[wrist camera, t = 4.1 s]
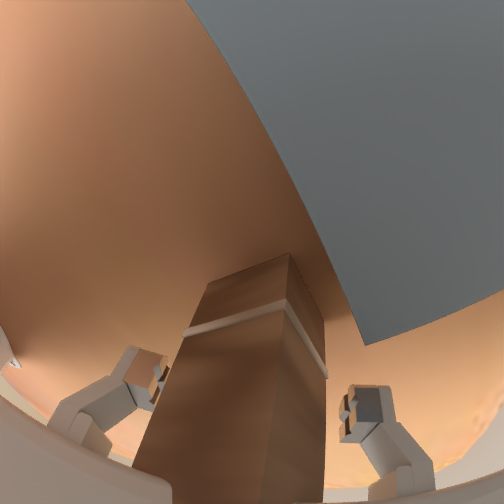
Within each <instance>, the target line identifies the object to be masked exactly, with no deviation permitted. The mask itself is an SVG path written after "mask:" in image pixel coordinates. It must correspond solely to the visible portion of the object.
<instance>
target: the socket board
mask: <svg viewBox="0 0 504 504" xmlns="http://www.w3.org/2000/svg"><path fill="white" fill-rule="evenodd" d="M186 2H187V3H188V5H189V6H190V8H191V9H192V10H193V12H194V13H195V15H196V16H197V18H198V19H199V21H200V22H201V24H202V25H203V27H204V28H205V30H206V31H207V33H208V34H209V36H210V38H211V39H212V41H213V42H214V44H215V45H216V47H217V48H218V50H219V52H220V53H221V55H222V56H223V58H224V60H225V61H226V63H227V64H228V66H229V68H230V69H231V71H232V73H233V74H234V76H235V78H236V79H237V81H238V83H239V84H240V86H241V88H242V89H243V91H244V93H245V95H246V96H247V98H248V100H249V102H250V103H251V105H252V107H253V109H254V110H255V112H256V114H257V116H258V117H259V119H260V121H261V123H262V125H263V126H264V128H265V130H266V132H267V134H268V136H269V137H270V139H271V141H272V143H273V145H274V147H275V149H276V150H277V152H278V154H279V156H280V158H281V160H282V162H283V164H284V166H285V168H286V170H287V172H288V173H289V175H290V177H291V179H292V181H293V183H294V185H295V187H296V189H297V191H298V193H299V195H300V197H301V199H302V201H303V204H304V206H305V208H306V210H307V212H308V214H309V216H310V218H311V220H312V222H313V224H314V227H315V229H316V231H317V233H318V235H319V237H320V239H321V242H322V244H323V246H324V248H325V250H326V253H327V255H328V257H329V259H330V262H331V264H332V266H333V268H334V271H335V273H336V275H337V278H338V280H339V282H340V285H341V287H342V289H343V292H344V294H345V297H346V299H347V301H348V304H349V306H350V309H351V311H352V314H353V316H354V319H355V321H356V324H357V326H358V329H359V331H360V334H361V336H362V339H363V342H364V344H365V346H366V345H369V344H372V343H375V342H378V341H381V340H384V339H387V338H390V337H393V336H396V335H398V334H401V333H404V332H407V331H409V330H412V329H415V328H417V327H420V326H423V325H425V324H428V323H430V322H433V321H435V320H437V319H440V318H442V317H445V316H447V315H449V314H452V313H454V312H456V311H458V310H461V309H463V308H465V307H467V306H469V305H472V304H474V303H476V302H478V301H480V300H482V299H484V298H486V297H488V296H490V295H492V294H494V293H496V292H498V291H500V290H502V289H504V0H186Z"/></svg>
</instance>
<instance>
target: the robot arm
mask: <svg viewBox="0 0 504 504" xmlns="http://www.w3.org/2000/svg"><path fill="white" fill-rule="evenodd" d="M11 360H12V361H13V362H14V363H15V365H14V364H13V363H12V362H11ZM167 363H168V359H167V356H165V355H161V354H157V353H154V352H150V351H147V350H143V349H141V348H137V347H133V346H128V347H127V348H126V350H125V351H124V353H123V355H122V356H121V358H120V360H119V362H118V363H117V365H116V367H115V369H114V370H113V372H112V374H111V376H110V377H109V376H105V377H104V378H102V379H100V380H98V381H96V382H95V383H93V384H91V385H89V386H87V387H85V388H84V389H82V390H80V391H78V392H76V393H74V394H72V395H71V396H69V397H67V398H65V399H63V400H61V402H60V403H59V405H58V407H57V408H56V410H55V412H54V414H53V415H52V417H51V419H50V420H49V423H48V424H47V426H45V425H44V424H42V423H40V422H39V421H37V420H35V419H34V418H32V417H31V416H29V415H28V414H26V413H25V412H23V411H22V410H20V409H19V408H18V407H16V406H15V405H13V404H12V403H11V402H9V401H8V400H6V399H5V398H4V397H2V396H1V395H0V504H172V487H171V485H170V484H169V483H168V482H167V481H166V480H164V479H162V478H160V477H158V476H154V475H151V474H148V473H146V472H143V471H140V470H137V469H134V468H132V467H129V466H126V465H124V464H122V463H119V462H117V461H114V460H112V459H109V458H107V457H108V455H109V452H110V450H111V448H112V442H111V441H110V440H109V438H108V437H107V436H106V435H105V434H104V433H105V432H106V431H108V430H109V429H110V428H112V427H113V426H114V425H116V424H117V423H119V422H120V421H121V420H123V419H124V418H125V417H127V416H128V415H129V414H131V413H132V412H133V411H135V410H136V409H137V407H138V408H141V409H144V410H148V411H151V412H154V409H155V407H156V404H157V402H158V399H159V397H160V394H161V392H162V390H163V387H164V385H165V382H166V380H167V378H168V375H169V373H170V368H169V367H168V366H167ZM7 365H10V366H14V367H17V368H21V365H20V363H19V362H18V360H17V358H16V357H15V355H14V354H13V352H12V349H11V347H10V344H9V342H8V339H7V337H6V335H5V333H4V331H3V329H2V327H1V326H0V374H1V373H2V372H3V370H4V369H5V368H6V366H7ZM339 418H340V420H341V421H342V422H343V424H342V425H341V426H340V428H339V435H340V443H361V444H360V445H361V447H362V449H363V450H364V452H365V453H366V455H367V457H368V458H369V460H370V462H371V463H372V465H373V466H374V468H375V470H376V471H377V473H378V475H379V476H380V478H381V479H379V480H378V481H376V482H374V483H373V484H371V485H370V486H369V488H368V491H369V492H368V501H361V502H343V503H306V502H294V503H293V504H504V469H502V470H500V471H497V472H495V473H492V474H489V475H486V476H484V477H481V478H478V479H475V480H472V481H469V482H465V483H462V484H459V485H455V486H451V487H447V488H443V489H439V490H436V488H435V478H434V470H433V462H432V460H431V459H430V458H429V456H428V455H427V454H426V453H425V452H424V450H423V449H422V448H421V447H420V446H419V445H418V443H417V442H416V441H415V440H414V439H413V437H412V436H411V435H410V434H409V433H408V432H407V430H406V429H405V428H404V427H403V426H402V424H401V423H400V422H396V416H395V410H394V404H393V398H392V392H391V388H390V387H389V386H376V385H354V384H352V385H350V387H349V388H348V394H347V395H345V396H344V397H343V398H342V400H341V404H340V408H339Z"/></svg>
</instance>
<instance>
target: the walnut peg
mask: <svg viewBox="0 0 504 504" xmlns="http://www.w3.org/2000/svg"><path fill="white" fill-rule="evenodd" d="M182 337H183V338H184V340H183V342H182V345H181V347H180V349H179V352H178V354H177V356H176V359H175V361H174V363H173V366H172V368H171V370H170V373H169V375H168V378H167V380H166V382H165V385H164V387H163V390H162V392H161V394H160V397H159V399H158V402H157V404H156V407H155V409H154V412H153V414H152V416H151V419H150V421H149V424H148V426H147V429H146V431H145V434H144V436H143V439H142V441H141V444H140V447H139V449H138V452H137V454H136V457H135V459H134V462H133V465H132V468H134V469H137V470H140V471H143V472H146V473H148V474H151V475H154V476H158V477H160V478H162V479H164V480H166V481H167V482H168V483H169V484H170V485H171V487H172V504H293V503H294V502H306V503H323V489H324V470H325V442H326V379H328V370H327V368H326V367H325V339H324V320H323V318H322V316H321V314H320V312H319V310H318V308H317V306H316V304H315V302H314V300H313V298H312V296H311V295H310V293H309V291H308V289H307V287H306V285H305V283H304V281H303V279H302V277H301V275H300V273H299V271H298V269H297V268H296V266H295V264H294V262H293V260H292V258H291V256H290V254H286V255H283V256H281V257H278V258H275V259H273V260H270V261H268V262H265V263H262V264H260V265H257V266H254V267H252V268H249V269H246V270H244V271H241V272H238V273H236V274H233V275H230V276H228V277H225V278H222V279H220V280H217V281H214V282H211V283H209V284H208V285H207V287H206V290H205V292H204V294H203V296H202V299H201V301H200V303H199V306H198V308H197V310H196V312H195V315H194V317H193V319H192V321H191V324H190V326H189V328H186V329H185V330H184V332H183V335H182Z"/></svg>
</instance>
